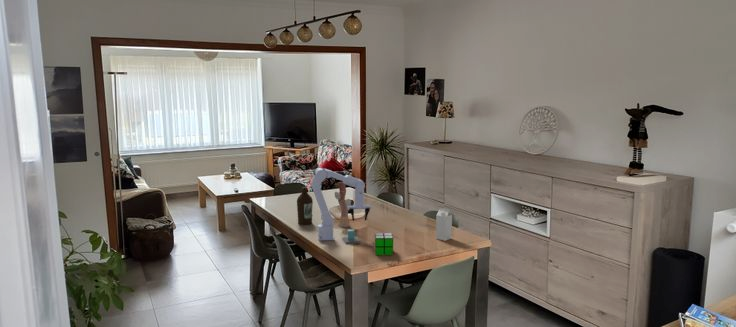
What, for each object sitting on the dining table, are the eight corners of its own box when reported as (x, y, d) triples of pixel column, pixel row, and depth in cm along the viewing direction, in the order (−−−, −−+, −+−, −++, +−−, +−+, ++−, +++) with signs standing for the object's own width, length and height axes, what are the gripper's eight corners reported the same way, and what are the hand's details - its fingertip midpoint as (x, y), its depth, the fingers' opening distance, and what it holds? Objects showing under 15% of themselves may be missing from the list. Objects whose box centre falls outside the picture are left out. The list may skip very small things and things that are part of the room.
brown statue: (350, 224, 356) (350, 180, 351) (350, 227, 349) (350, 182, 344) (335, 224, 356) (334, 180, 351) (334, 227, 348) (334, 182, 344)
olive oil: (294, 223, 358) (293, 187, 354) (306, 220, 365) (306, 185, 361) (303, 226, 350) (302, 189, 346) (316, 223, 357) (315, 187, 354)
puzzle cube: (391, 249, 303) (391, 232, 301) (393, 255, 293) (393, 238, 291) (374, 249, 303) (374, 233, 301) (375, 255, 293) (375, 238, 291)
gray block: (346, 245, 313) (346, 241, 312) (342, 240, 321) (342, 237, 321) (360, 243, 315) (360, 240, 315) (356, 239, 324) (356, 236, 323)
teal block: (347, 240, 316) (347, 231, 315) (347, 238, 320) (347, 229, 319) (354, 240, 316) (354, 231, 315) (354, 237, 320) (354, 229, 319)
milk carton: (441, 236, 329) (442, 206, 326) (451, 238, 324) (452, 208, 321) (435, 238, 323) (436, 208, 320) (445, 241, 319) (446, 210, 316)
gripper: (348, 200, 319) (348, 222, 321) (371, 200, 321) (371, 221, 323) (347, 198, 326) (347, 219, 328) (370, 197, 328) (370, 218, 330)
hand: (359, 220), depth 326 cm, fingers open, 7 cm apart
